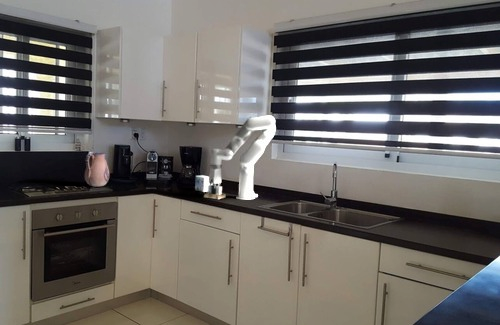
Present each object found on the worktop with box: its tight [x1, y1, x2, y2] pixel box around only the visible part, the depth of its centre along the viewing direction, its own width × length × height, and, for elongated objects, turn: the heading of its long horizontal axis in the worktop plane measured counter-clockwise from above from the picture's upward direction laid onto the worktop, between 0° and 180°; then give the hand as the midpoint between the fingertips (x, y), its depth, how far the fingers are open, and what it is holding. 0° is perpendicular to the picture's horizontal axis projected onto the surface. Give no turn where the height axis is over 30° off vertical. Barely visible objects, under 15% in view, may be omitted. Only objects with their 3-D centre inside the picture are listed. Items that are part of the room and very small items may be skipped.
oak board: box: [203, 192, 227, 200], centre depth 282 cm, size 11×10×2 cm
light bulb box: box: [194, 174, 210, 193], centre depth 307 cm, size 11×7×11 cm, turn 45°
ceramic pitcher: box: [84, 151, 110, 188], centre depth 307 cm, size 18×21×25 cm
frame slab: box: [207, 185, 223, 195], centre depth 281 cm, size 9×4×6 cm, turn 64°
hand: (215, 193), depth 281 cm, fingers closed on frame slab, 3 cm apart
